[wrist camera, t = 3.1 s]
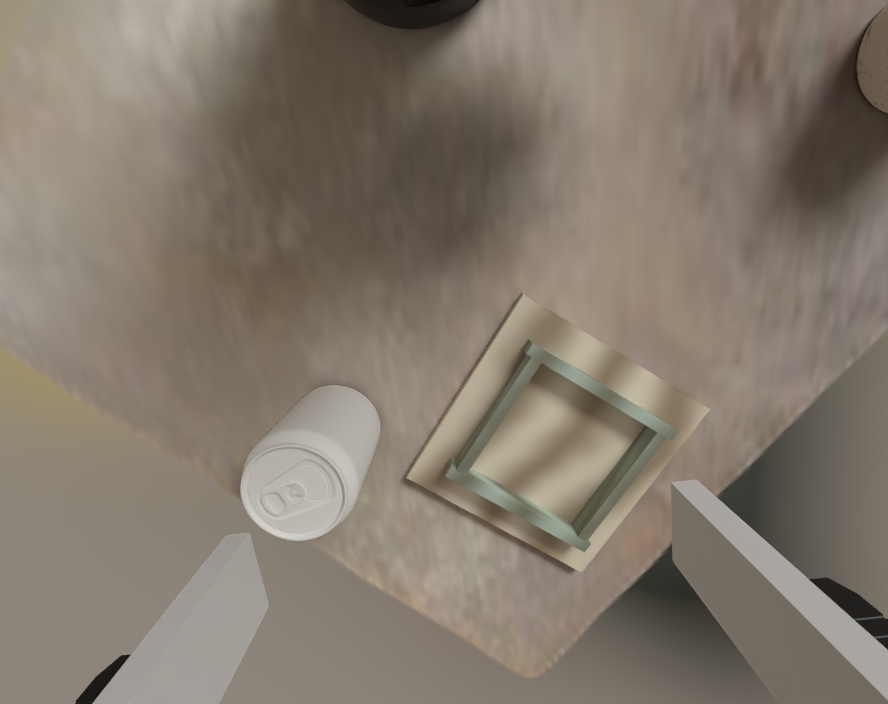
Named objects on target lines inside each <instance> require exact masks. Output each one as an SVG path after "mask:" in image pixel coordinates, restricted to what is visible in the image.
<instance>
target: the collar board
mask: <svg viewBox="0 0 888 704" xmlns="http://www.w3.org/2000/svg"><path fill="white" fill-rule="evenodd" d="M709 410H710V409H709V408H707V407H706V406H704V405H702V404H701V403H699V402H697V401H696V400H694V399H693V398H691V397H689V396H688V395H686V394H684V393H683V392H681V391H680V390H678V389H676V388H675V387H673V386H671V385H670V384H668V383H667V382H665V381H663V380H662V379H660V378H658V377H657V376H655V375H654V374H652V373H650V372H649V371H647V370H645V369H644V368H642V367H641V366H639V365H637V364H636V363H634V362H632V361H631V360H629V359H628V358H626V357H624V356H623V355H621V354H619V353H618V352H616V351H615V350H613V349H611V348H610V347H608V346H606V345H605V344H603V343H602V342H600V341H598V340H597V339H595V338H593V337H592V336H590V335H589V334H587V333H585V332H584V331H582V330H580V329H579V328H577V327H576V326H574V325H572V324H571V323H569V322H567V321H566V320H564V319H563V318H561V317H559V316H558V315H556V314H554V313H553V312H551V311H550V310H548V309H546V308H545V307H543V306H541V305H540V304H538V303H537V302H535V301H533V300H532V299H530V298H528V297H527V296H525V295H524V294H522V293H521V295H520V296H519V298H518V299H517V301H516V303H515V304H514V306H513V307H512V309H511V310H510V312H509V314H508V315H507V317H506V318H505V320H504V321H503V323H502V325H501V326H500V328H499V329H498V331H497V332H496V334H495V336H494V337H493V339H492V340H491V342H490V343H489V345H488V347H487V348H486V350H485V351H484V353H483V354H482V356H481V358H480V359H479V361H478V362H477V364H476V365H475V367H474V369H473V370H472V372H471V373H470V375H469V376H468V378H467V380H466V381H465V383H464V384H463V386H462V387H461V389H460V391H459V392H458V394H457V395H456V397H455V398H454V400H453V402H452V403H451V405H450V406H449V408H448V409H447V411H446V413H445V414H444V416H443V417H442V419H441V420H440V422H439V424H438V425H437V427H436V428H435V430H434V431H433V433H432V435H431V436H430V438H429V439H428V441H427V442H426V444H425V446H424V447H423V449H422V450H421V452H420V453H419V455H418V457H417V458H416V460H415V461H414V463H413V464H412V466H411V468H410V469H409V471H408V472H407V477H406V478H408V479H409V480H411V481H413V482H415V483H417V484H419V485H420V486H422V487H424V488H426V489H428V490H430V491H432V492H433V493H435V494H437V495H439V496H441V497H443V498H444V499H446V500H448V501H450V502H452V503H454V504H456V505H457V506H459V507H461V508H463V509H465V510H467V511H469V512H470V513H472V514H474V515H476V516H478V517H480V518H481V519H483V520H485V521H487V522H489V523H491V524H493V525H494V526H496V527H498V528H500V529H502V530H504V531H506V532H507V533H509V534H511V535H513V536H515V537H517V538H518V539H520V540H522V541H524V542H526V543H528V544H530V545H531V546H533V547H535V548H537V549H539V550H541V551H543V552H544V553H546V554H548V555H550V556H552V557H554V558H555V559H557V560H559V561H561V562H563V563H565V564H567V565H568V566H570V567H572V568H574V569H576V570H578V571H580V572H581V573H582V572H583V570H584V569H585V568H586V566H587V565H588V564H589V563H590V561H591V560H592V559H593V558H594V556H595V555H596V554H597V552H598V551H599V550H600V549H601V547H602V546H603V545H604V544H605V542H606V541H607V540H608V538H609V537H610V536H611V535H612V533H613V532H614V531H615V530H616V528H617V527H618V526H619V524H620V523H621V522H622V521H623V519H624V518H625V517H626V516H627V514H628V513H629V512H630V510H631V509H632V508H633V507H634V505H635V504H636V503H637V502H638V500H639V499H640V498H641V497H642V495H643V494H644V493H645V491H646V490H647V489H648V488H649V486H650V485H651V484H652V483H653V481H654V480H655V479H656V477H657V476H658V475H659V474H660V472H661V471H662V470H663V469H664V467H665V466H666V465H667V463H668V462H669V461H670V460H671V458H672V457H673V456H674V455H675V453H676V452H677V451H678V449H679V448H680V447H681V446H682V444H683V443H684V442H685V441H686V439H687V438H688V437H689V435H690V434H691V433H692V432H693V430H694V429H695V428H696V427H697V425H698V424H699V423H700V421H701V420H702V419H703V418H704V416H705V415H706V414H707V413H708V411H709Z"/></svg>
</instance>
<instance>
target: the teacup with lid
mask: <svg viewBox="0 0 888 704" xmlns="http://www.w3.org/2000/svg"><path fill="white" fill-rule="evenodd" d="M857 77H858V82H859V85H860V88H861V90H862V92H863V94H864V96H865V97H866V99H867V100H868V101H869V102H870V103H871V104H872V105H873V106H874V107H876V108H877V109H879V110H881V111H883V112H886V113H888V5H887V6H886V7H885V8H884V9H883V10H882V11H881V12H880V13H879V14H878V15H877V16H876V18H875V19H874V20H873V22H872V23H871V25H870V26H869V28H868V29H867V31H866V33H865V35H864V37H863V40H862V42H861V45H860V49H859V53H858V58H857Z"/></svg>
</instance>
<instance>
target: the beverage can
mask: <svg viewBox="0 0 888 704" xmlns="http://www.w3.org/2000/svg"><path fill="white" fill-rule="evenodd" d="M380 430H381V427H380V420H379V416H378V413H377V411H376V409H375V407H374V406H373V404H372V403H371V402H370V401H369V400H368V399H367V398H366V397H365V396H364V395H363V394H361V393H360V392H358V391H356V390H354V389H352V388H349V387H346V386H341V385H328V386H323V387H319V388H317V389H315V390H313V391H311V392H309V393H308V394H307V395H306V396H304V397H303V398H302V399H301V400H300V401H299V402H298V403H297V404H296V405H295V406H294V407H293V408H292V409H291V410H290V411H289V412H288V413H287V414H286V415H285V416H284V417H283V418H282V419H281V420H280V421H279V422H278V423H277V424H276V425H275V426H274V427H273V428H272V429H271V430H270V431H269V432H268V433H267V434H266V435H265V436H264V437H263V438H262V439H261V440H260V441H259V442H258V443H257V444H256V445H255V446H254V448H253V449H252V450H251V452H250V453H249V455H248V457H247V459H246V461H245V464H244V468H243V473H242V479H241V485H240V493H241V499H242V503H243V505H244V508H245V510H246V512H247V513H248V515H249V516H250V518H251V519H252V520H253V521H254V522H255V523H256V524H257V525H258V526H259V527H260V528H261V529H263V530H264V531H266V532H267V533H269V534H271V535H273V536H276V537H278V538H281V539H286V540H292V541H305V540H311V539H314V538H317V537H320V536H322V535H324V534H326V533H327V532H329V531H330V530H332V529H333V528H334V527H335V526H337V525H338V524H340V523H341V522H342V521H343V520H344V519H345V518H346V517H347V516H348V515H349V513H350V512H351V511H352V509H353V507H354V505H355V503H356V501H357V498H358V495H359V492H360V490H361V487H362V484H363V482H364V479H365V476H366V473H367V471H368V468H369V465H370V463H371V460H372V457H373V454H374V452H375V449H376V446H377V444H378V441H379V437H380Z"/></svg>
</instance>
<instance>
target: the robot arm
mask: <svg viewBox="0 0 888 704" xmlns="http://www.w3.org/2000/svg"><path fill="white" fill-rule="evenodd" d="M346 1H347V2H348V3H349V4H350V5H351V6H353V7H354V8H355V9H356V10H358V11H359V12H361V13H362V14H364V15H365V16H367V17H369V18H371V19H373V20H375V21H377V22H380V23H382V24H385V25H389V26H393V27H398V28H408V29H417V28H426V27H431V26H435V25H438V24H441V23H444V22H447V21H449V20H451V19H453V18H455V17H456V16H458V15H460V14H461V13H463V12H464V11H466V10H467V9H468V8H470V7H471V6H472V5H473V4H474V3H475V2H476V1H477V0H346ZM671 503H672V547H673V548H672V549H673V550H672V551H673V562H674V563H675V565H676V566H677V567H678V569H679V570H680V571H681V573H682V574H683V575H684V577H685V578H686V579H687V580H688V582H689V583H690V585H691V586H692V587H693V589H694V590H695V591H696V593H697V594H698V595H699V597H700V598H701V600H702V601H703V602H704V603H705V604H706V606H707V608H708V609H709V610H710V612H711V613H712V614H713V615H714V617H715V618H716V620H717V621H718V622H719V624H720V625H721V626H722V628H723V629H724V630H725V632H726V633H727V634H728V636H729V637H730V638H731V640H732V641H733V642H734V644H735V645H736V646H737V648H738V649H739V651H740V652H741V653H742V655H743V656H744V657H745V658H746V660H747V661H748V663H749V664H750V665H751V667H752V668H753V669H754V670H755V672H756V673H757V675H758V676H759V677H760V679H761V680H762V681H763V683H764V684H765V685H766V687H767V688H768V689H769V691H770V692H771V694H772V695H773V696H774V698H775V699H776V700H777V702H778V703H779V704H888V619H885V618H884V617H883V614H881V613H880V612H879V611H878V610H877V609H875V608H874V607H873V606H872V605H870V604H869V603H868V602H867V601H866V600H864V599H863V598H862V597H861V596H860V595H858V594H857V593H855V592H853V591H851V590H849V589H848V588H846V587H844V586H842V585H840V584H838V583H836V582H835V581H833V580H831V579H829V578H818V579H808V578H806V577H805V576H804V575H803V574H802V573H801V572H800V571H799V570H798V569H796V568H795V567H794V566H793V565H792V564H791V563H790V562H789V561H787V560H786V559H785V558H784V557H783V556H782V555H780V553H778V552H777V551H776V550H775V549H774V548H773V547H772V546H770V545H769V544H768V543H767V542H766V541H765V540H764V539H763V538H762V537H760V536H759V535H758V534H757V533H756V532H755V531H754V530H753V529H751V528H750V527H749V526H748V525H747V524H746V523H745V522H744V521H742V520H741V519H740V518H739V517H738V516H737V515H736V514H735V513H733V512H732V511H731V510H730V509H729V508H728V507H727V506H726V505H724V504H723V503H722V502H721V501H720V500H719V499H718V498H717V497H716V496H714V495H713V494H712V493H711V492H710V491H709V490H708V489H707V488H705V487H704V486H703V485H702V484H701V483H700V482H699V481H698V480H689V481H681V482H672V483H671ZM268 607H269V603H268V599H267V596H266V592H265V588H264V584H263V581H262V577H261V573H260V569H259V565H258V562H257V558H256V554H255V550H254V546H253V543H252V539H251V535H250V532H247V533H238V534H229V535H226V536H225V537H224V538H223V539H222V541H221V542H220V543H219V544H218V546H217V547H216V548H215V550H214V551H213V552H212V553H211V555H210V556H209V557H208V559H207V560H206V561H205V562H204V563H203V565H202V566H201V567H200V568H199V570H198V571H197V572H196V574H195V575H194V576H193V577H192V579H191V580H190V581H189V582H188V584H187V585H186V586H185V587H184V589H183V590H182V591H181V592H180V594H179V595H178V596H177V598H176V599H175V600H174V601H173V602H172V604H171V605H170V606H169V608H168V609H167V610H166V611H165V613H164V614H163V615H162V616H161V618H160V619H159V620H158V621H157V623H156V624H155V625H154V626H153V628H152V629H151V631H149V633H148V634H147V635H146V637H145V638H144V639H143V641H142V642H141V643H140V644H139V645H138V647H137V648H136V649H135V650H134V652H133V653H132V654H131V655H122V656H120V657H119V658H118V659H117V660H115V661H114V662H113V663H112V664H111V665H110V666H108V667H107V668H106V669H105V670H104V671H102V672H101V673H100V674H99V675H98V676H96V677H95V679H94V680H93V681H92V682H91V683H90V685H89V686H88V687H87V688H86V689H85V691H84V692H83V693H82V694H81V695H80V697H79V698H78V699H77V700H76V704H219V703H220V702H221V700H222V698H223V696H224V694H225V692H226V690H227V688H228V686H229V684H230V682H231V680H232V678H233V676H234V674H235V672H236V670H237V668H238V666H239V664H240V662H241V660H242V658H243V656H244V654H245V652H246V650H247V648H248V646H249V644H250V642H251V640H252V639H253V636H254V635H255V633H256V631H257V629H258V627H259V625H260V623H261V621H262V619H263V617H264V615H265V613H266V611H267V609H268Z"/></svg>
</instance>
